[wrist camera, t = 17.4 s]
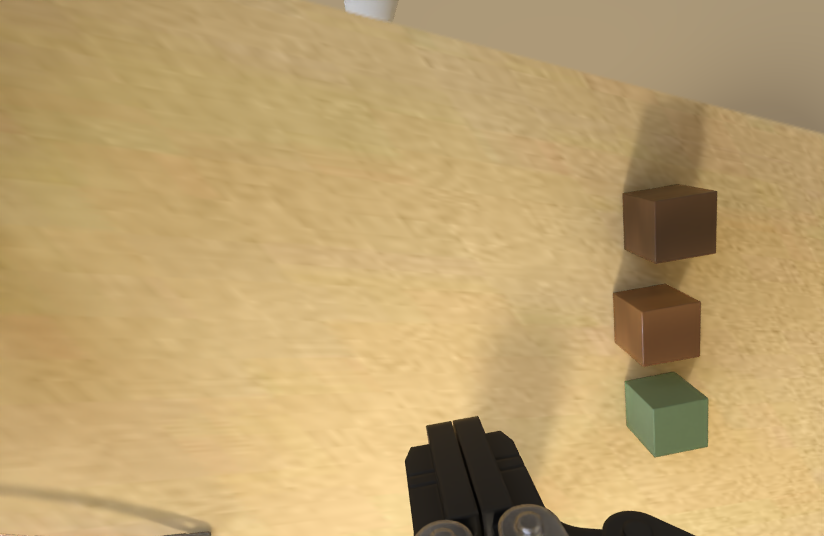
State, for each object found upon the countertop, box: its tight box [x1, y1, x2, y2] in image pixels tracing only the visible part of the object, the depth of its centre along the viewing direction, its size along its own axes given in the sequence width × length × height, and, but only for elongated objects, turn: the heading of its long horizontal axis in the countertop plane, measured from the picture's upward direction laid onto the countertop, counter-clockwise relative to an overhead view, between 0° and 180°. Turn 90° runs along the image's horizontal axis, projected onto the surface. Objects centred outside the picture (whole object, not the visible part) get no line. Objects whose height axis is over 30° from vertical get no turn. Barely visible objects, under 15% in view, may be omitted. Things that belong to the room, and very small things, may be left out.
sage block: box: [625, 372, 708, 457], centre depth 42 cm, size 4×4×4 cm
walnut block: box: [623, 184, 717, 264], centre depth 37 cm, size 4×4×4 cm
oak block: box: [613, 284, 701, 367], centre depth 39 cm, size 4×4×4 cm
